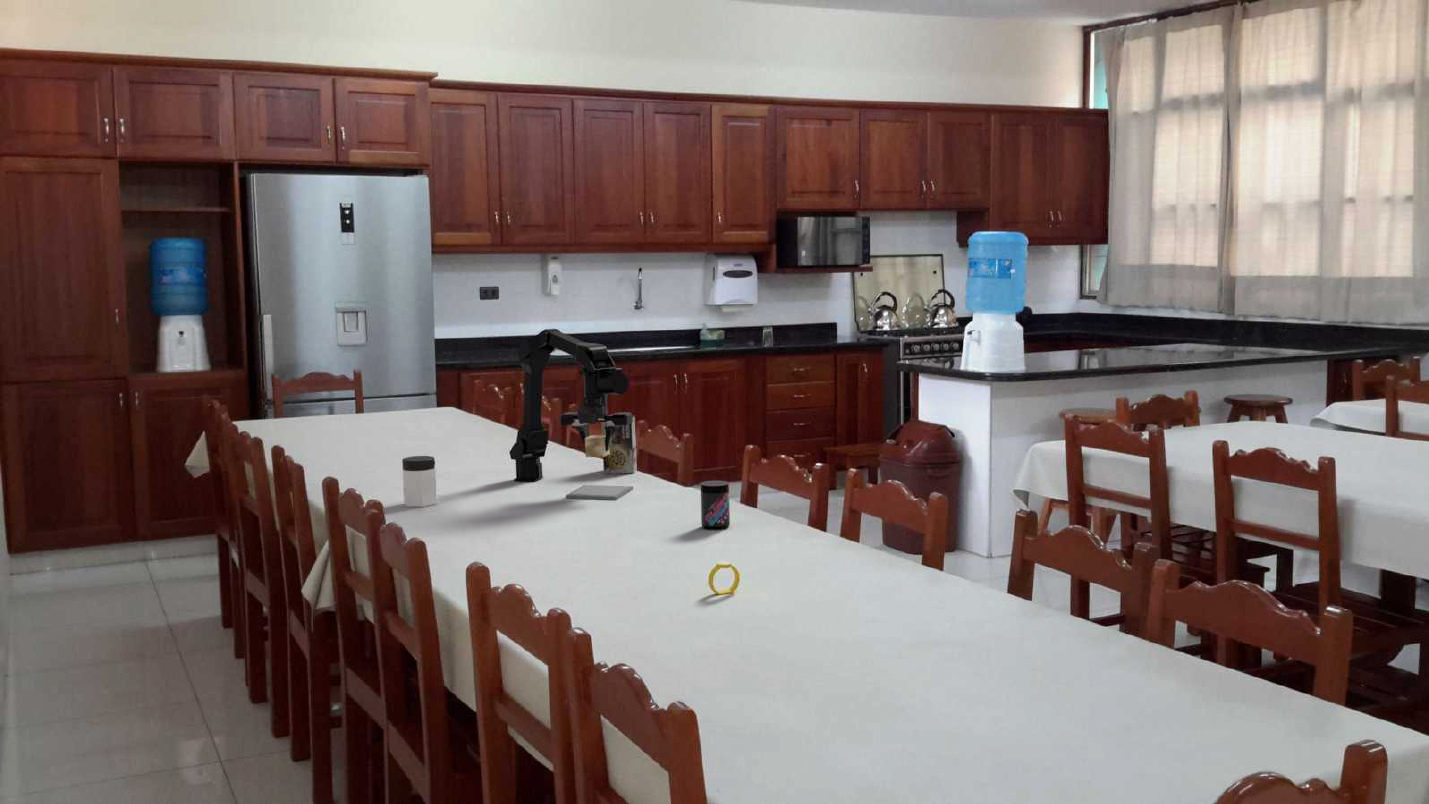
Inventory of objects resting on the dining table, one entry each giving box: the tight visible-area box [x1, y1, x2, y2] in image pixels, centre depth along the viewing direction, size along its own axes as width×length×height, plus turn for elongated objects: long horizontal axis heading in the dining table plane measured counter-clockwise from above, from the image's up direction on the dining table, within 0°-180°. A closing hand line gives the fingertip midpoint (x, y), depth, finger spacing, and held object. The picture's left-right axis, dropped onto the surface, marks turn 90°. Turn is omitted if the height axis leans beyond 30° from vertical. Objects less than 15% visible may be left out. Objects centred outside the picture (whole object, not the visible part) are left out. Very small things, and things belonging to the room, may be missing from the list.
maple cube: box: [584, 434, 610, 458], centre depth 331 cm, size 5×5×5 cm
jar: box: [401, 455, 438, 508], centre depth 323 cm, size 9×8×12 cm
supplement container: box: [699, 480, 731, 531], centre depth 290 cm, size 7×7×10 cm
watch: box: [708, 560, 741, 596], centre depth 236 cm, size 6×3×6 cm, turn 117°
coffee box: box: [601, 415, 638, 474], centre depth 363 cm, size 9×6×16 cm
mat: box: [565, 484, 634, 501], centre depth 332 cm, size 14×14×1 cm
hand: (597, 451), depth 332 cm, fingers closed on maple cube, 5 cm apart
